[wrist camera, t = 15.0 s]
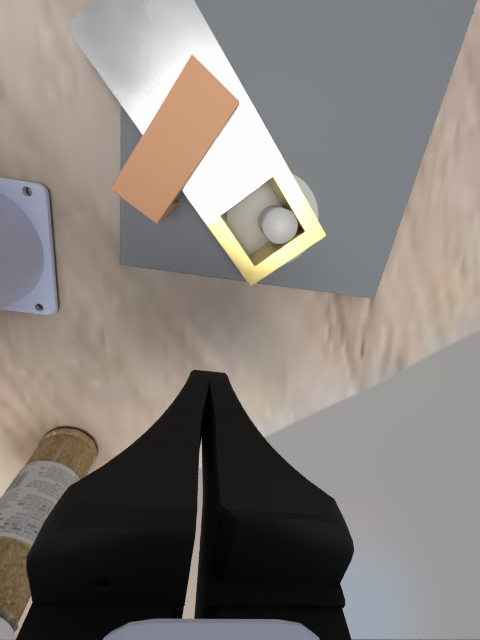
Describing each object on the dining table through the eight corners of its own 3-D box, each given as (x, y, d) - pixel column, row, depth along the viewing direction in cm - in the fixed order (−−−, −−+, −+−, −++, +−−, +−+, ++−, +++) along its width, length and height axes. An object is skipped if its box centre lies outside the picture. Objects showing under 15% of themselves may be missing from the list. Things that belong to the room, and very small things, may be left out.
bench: (122, 263, 20) (104, 276, 17) (124, -130, 13) (97, -220, 10) (371, 296, 22) (394, 314, 19) (482, -29, 15) (545, -81, 12)
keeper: (171, 214, 19) (156, 223, 14) (136, 187, 18) (110, 188, 14) (234, 122, 17) (240, 101, 13) (199, 88, 16) (191, 54, 12)
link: (311, 228, 19) (326, 235, 16) (246, 272, 20) (250, 286, 17) (170, -17, 14) (157, -66, 12) (94, 56, 15) (65, 26, 12)
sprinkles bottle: (66, 473, 27) (-65, 721, 14) (28, 439, 25) (-159, 687, 13) (110, 453, 26) (13, 694, 14) (74, 416, 24) (-74, 654, 12)
